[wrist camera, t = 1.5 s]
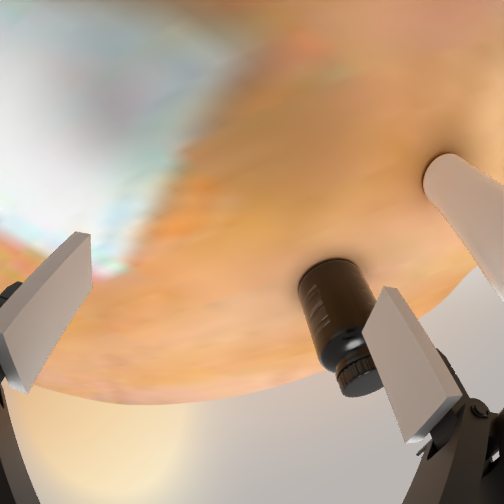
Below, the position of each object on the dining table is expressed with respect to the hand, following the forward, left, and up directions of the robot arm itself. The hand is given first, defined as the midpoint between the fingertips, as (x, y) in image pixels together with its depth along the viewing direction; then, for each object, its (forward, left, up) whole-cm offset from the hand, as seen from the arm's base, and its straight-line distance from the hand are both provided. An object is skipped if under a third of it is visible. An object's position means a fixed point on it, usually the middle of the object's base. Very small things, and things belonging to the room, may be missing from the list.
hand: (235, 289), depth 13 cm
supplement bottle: (+14, +8, -13) cm, 21 cm away
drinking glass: (+4, +20, -13) cm, 24 cm away
